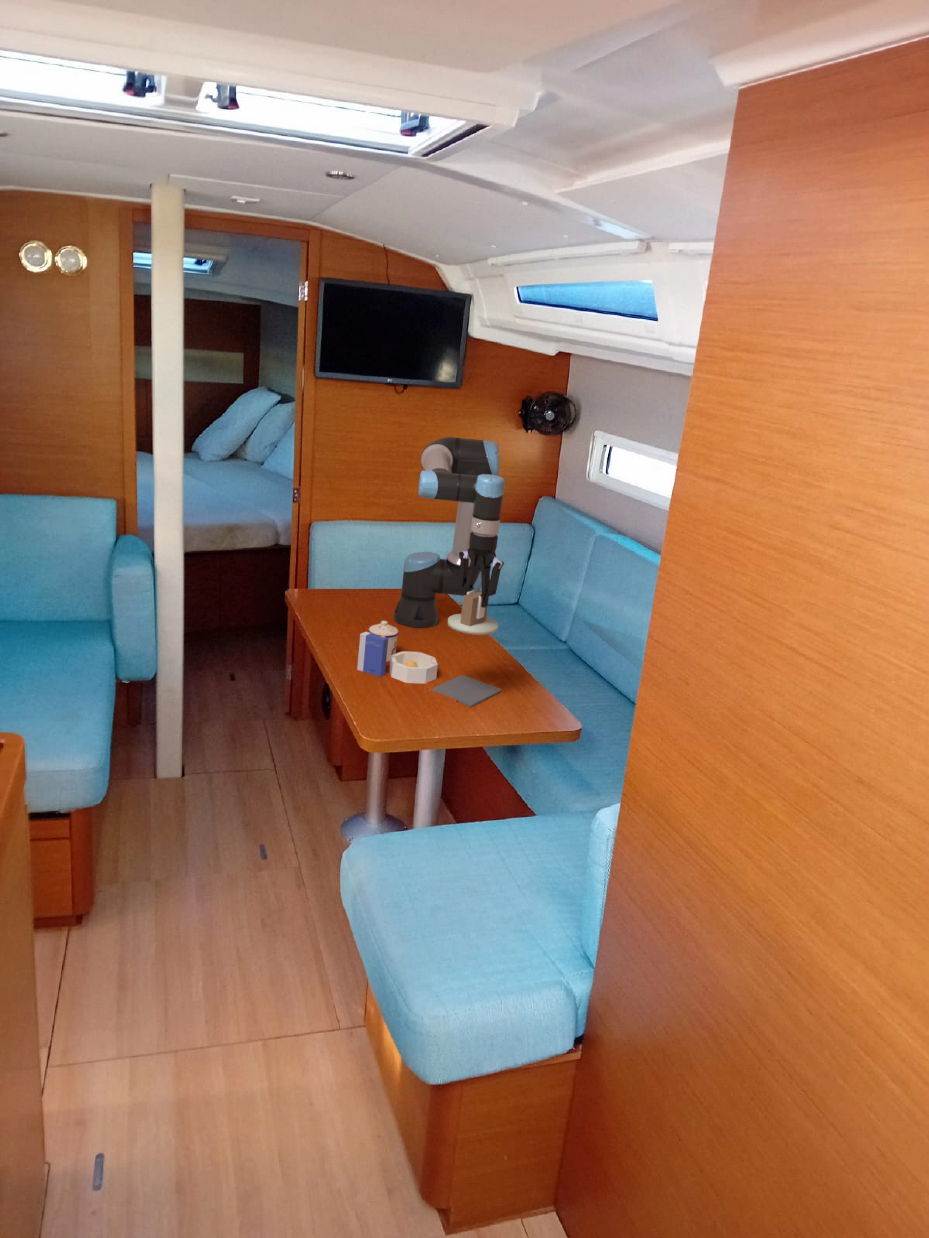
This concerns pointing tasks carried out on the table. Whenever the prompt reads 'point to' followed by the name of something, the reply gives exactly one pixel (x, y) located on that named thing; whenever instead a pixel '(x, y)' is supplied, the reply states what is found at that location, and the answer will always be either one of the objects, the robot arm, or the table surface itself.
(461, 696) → the mat
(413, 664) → the clementine
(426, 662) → the bowl
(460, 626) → the lid
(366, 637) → the walkman
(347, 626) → the table surface
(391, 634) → the teacup with lid
